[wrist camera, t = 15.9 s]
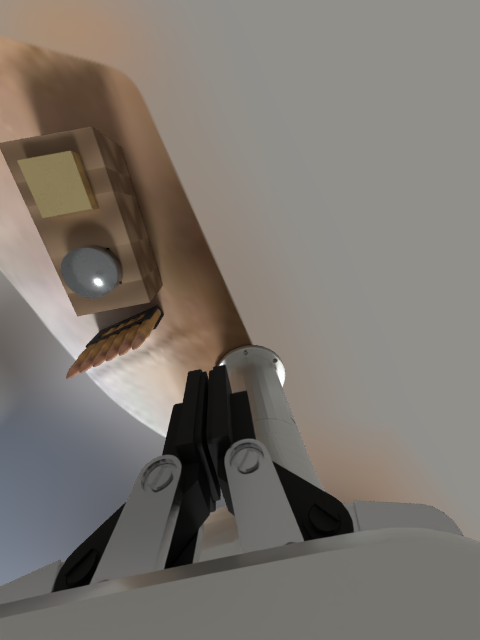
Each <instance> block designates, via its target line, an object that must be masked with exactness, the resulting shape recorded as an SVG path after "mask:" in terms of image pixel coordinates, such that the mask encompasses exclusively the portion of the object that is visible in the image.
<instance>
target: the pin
mask: <svg viewBox="0 0 480 640" xmlns="http://www.w3.org/2000/svg"><path fill="white" fill-rule="evenodd" d="M61 274H62V277H63V280H64V281H65V283H66V285H67V286H68V287H69V288H70V289H71V290H72V291H73V292H75V293H76V294H78V295H80V296H82V297H85V298H91V299H96V298H101V297H104V296H106V295H107V294H109V293H110V292H111V291H113V290H114V289H115V288H117V287H118V286H119V284H120V283H121V281H122V278H123V268H122V265H121V262H120V261H119V259H118V258H117V256H116V255H115V254H114V253H113V252H111V251H110V250H108V249H106V248H104V247H101V246H96V245H91V246H86V247H82V248H78V249H74V250H72V251H70V252H69V253H67V254H66V255H65V257H64V258H63V260H62V263H61Z"/></svg>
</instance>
